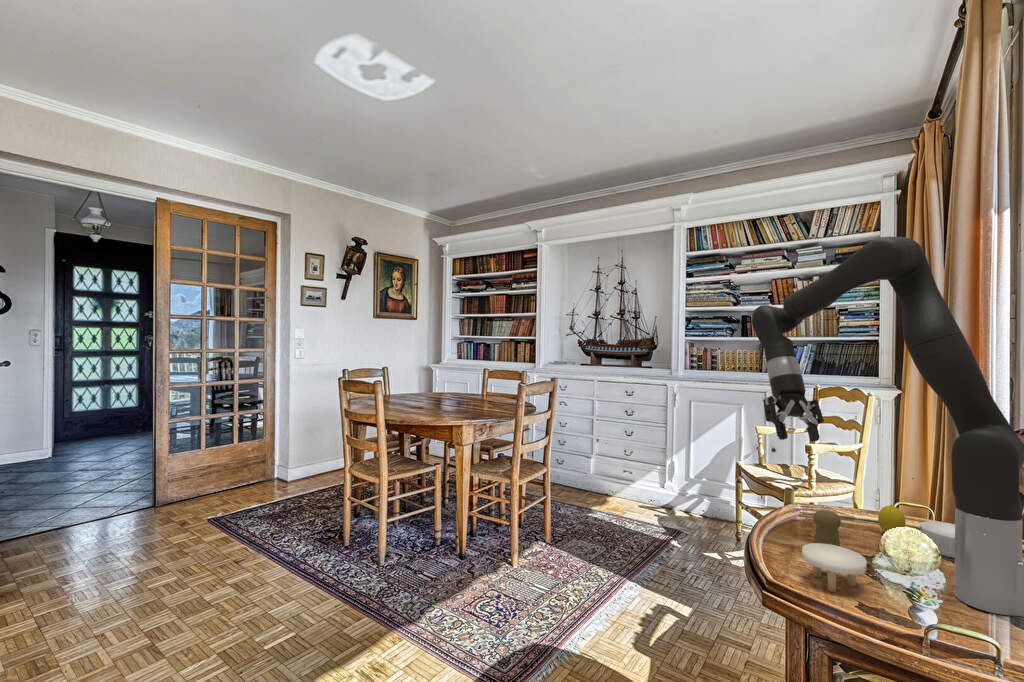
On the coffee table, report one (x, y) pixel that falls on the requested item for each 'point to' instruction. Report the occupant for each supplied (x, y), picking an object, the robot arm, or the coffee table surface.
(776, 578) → the coffee table surface
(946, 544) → the ramekin
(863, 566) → the stool
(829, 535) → the cork
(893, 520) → the lemon
